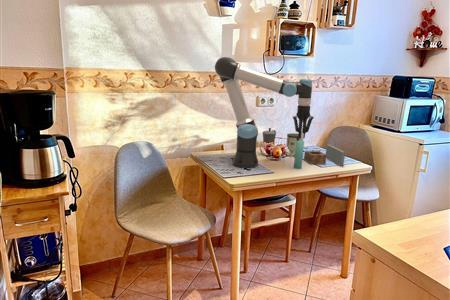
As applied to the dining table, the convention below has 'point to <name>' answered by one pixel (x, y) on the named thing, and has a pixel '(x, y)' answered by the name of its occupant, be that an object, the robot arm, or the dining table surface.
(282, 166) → the dining table surface
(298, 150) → the dowel
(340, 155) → the wall
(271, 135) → the coffeepot
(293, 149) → the coffee can
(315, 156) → the socket block
